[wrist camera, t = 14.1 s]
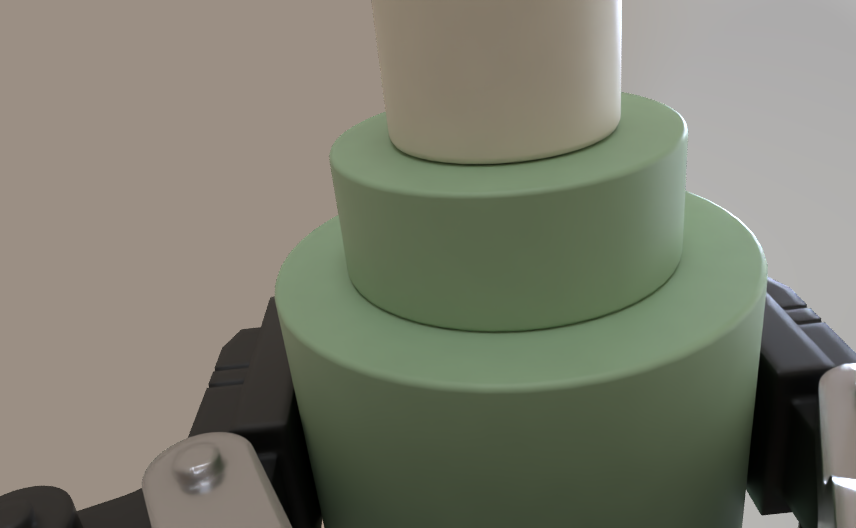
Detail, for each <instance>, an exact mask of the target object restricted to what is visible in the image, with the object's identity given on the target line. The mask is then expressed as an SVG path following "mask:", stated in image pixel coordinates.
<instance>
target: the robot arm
mask: <svg viewBox="0 0 856 528" xmlns="http://www.w3.org/2000/svg"><path fill="white" fill-rule="evenodd" d="M746 490H747V492H748V493H749V495H750V497H751V499H752V500H753V502H754V504H755V505H756V507H757V509H758V510H759V512H760V514H761V515H770V514H779V513H788V512H793V513H794V515H795V517H796V518H797V520H798V521H799V524H798V528H856V353H855V352H854V351H853V350H852V349H851V348H850V347H849V346H848V345H847V344H846V343H845V342H844V341H843V340H842V339H841V338H840V337H839V336H838V335H837V334H836V333H835V332H834V331H833V330H832V329H831V328H830V327H829V326H828V325H827V324H826V323H825V322H824V323H822V322H821V318H820V317H819V316H818V315H817V314H816V313H815V312H814V311H813V310H812V309H811V308H807V304H806V303H805V302H804V301H803V300H802V299H801V298H800V297H799V296H798V295H797V294H796V293H795V292H794V291H793V290H792V289H791V288H790V287H788V286H786V285H784V284H782V283H780V282H778V281H776V280H774V279H771V278H769V277H767V290H766V300H765V309H764V319H763V328H762V338H761V348H760V357H759V367H758V377H757V386H756V396H755V406H754V415H753V425H752V434H751V444H750V454H749V463H748V473H747V483H746ZM321 525H322V514H321V509H320V505H319V500H318V496H317V491H316V486H315V482H314V477H313V473H312V468H311V463H310V459H309V454H308V450H307V445H306V440H305V436H304V431H303V427H302V422H301V418H300V413H299V408H298V404H297V399H296V395H295V390H294V385H293V381H292V376H291V372H290V367H289V362H288V358H287V353H286V349H285V344H284V340H283V335H282V330H281V326H280V321H279V317H278V312H277V307H276V303H275V296H274V297H271V298H270V300H269V303H268V306H267V310H266V313H265V316H264V319H263V322H262V326H261V327H260V328H250V329H242V330H240V332H238V333H237V334H236V335H235V336H234V337H233V338H232V339H231V340H230V341H229V342H228V343H227V344H226V345H225V346H224V347H223V348H222V350H221V353H220V355H219V358H218V361H217V363H216V366H215V371H214V372H213V374H212V376H211V379H210V382H209V388H207V390H206V392H205V395H204V397H203V400H202V402H201V405H200V407H199V410H198V413H197V415H196V418H195V421H194V423H193V426H192V428H191V431H190V434H189V436H188V438H187V439H184V440H182V441H180V442H178V443H176V444H174V445H172V446H170V447H169V448H167V449H166V450H164V451H163V452H162V453H161V454H160V455H158V456H157V457H156V458H155V459H154V460H153V461H152V462H151V464H150V465H149V466H148V468H147V469H146V471H145V474H144V476H143V479H142V488H141V489H139V490H137V491H135V492H133V493H130V494H127V495H125V496H122V497H119V498H116V499H113V500H110V501H107V502H104V503H101V504H98V505H95V506H92V507H89V508H86V509H83V510H79V511H76V508H75V506H74V503H73V501H72V499H71V497H70V495H68V493H67V492H66V491H64V490H62V489H60V488H56V487H53V486H34V487H28V488H23V489H19V490H16V491H13V492H10V493H7V494H4V495H2V496H0V528H321Z"/></svg>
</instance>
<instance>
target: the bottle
mask: <svg viewBox="0 0 856 528" xmlns="http://www.w3.org/2000/svg"><path fill="white" fill-rule="evenodd" d="M371 2H372V9H373V17H374V25H375V32H376V40H377V48H378V56H379V63H380V71H381V79H382V87H383V94H384V102H385V109H386V112H384V113H381V114H378V115H376V116H374V117H371V118H369V119H367V120H365V121H363V122H361V123H359V124H357V125H355V126H353V127H352V128H350V129H349V130H347V131H346V132H344V133H343V134H342V135H341V136H340V137H339V138H338V139H337V140H336V141H335V143H334V144H333V145H332V148H331V151H330V155H329V157H330V166H331V172H332V177H333V184H334V190H335V196H336V202H337V208H338V214H339V215H338V216H336V217H334V218H332V219H330V220H329V221H327V222H326V223H324V224H323V225H321V226H319V227H318V228H316V229H315V230H314V231H312V232H311V233H310V234H309V235H308V236H307V237H305V238H304V239H303V240H302V241H301V242H300V243H299V244H298V245H297V246H296V247H295V248H294V249H293V250H292V251H291V252H290V254H289V255H288V257H287V258H286V260H285V261H284V263H283V265H282V266H281V269H280V272H279V274H278V278H277V280H276V285H275V303H276V307H277V312H278V317H279V321H280V326H281V330H282V335H283V340H284V344H285V349H286V353H287V358H288V362H289V367H290V372H291V376H292V381H293V385H294V390H295V395H296V399H297V404H298V408H299V413H300V418H301V422H302V427H303V431H304V436H305V440H306V445H307V450H308V454H309V459H310V463H311V468H312V473H313V477H314V482H315V486H316V491H317V496H318V500H319V505H320V509H321V514H322V519H323V523H324V528H742V521H743V511H744V502H745V492H746V483H747V473H748V463H749V454H750V444H751V434H752V425H753V415H754V406H755V396H756V386H757V377H758V367H759V357H760V348H761V338H762V328H763V319H764V309H765V300H766V290H767V267H768V265H767V262H766V258H765V256H764V252H763V249H762V247H761V245H760V244H759V242H758V240H757V239H756V237H755V235H754V234H753V232H752V231H751V230H750V229H749V228H748V227H747V226H746V225H745V224H743V222H742V221H740V220H739V219H738V218H736V217H735V216H734V215H732V214H731V213H730V212H728V211H727V210H725V209H723V208H722V207H720V206H718V205H716V204H714V203H712V202H711V201H709V200H707V199H704V198H702V197H699V196H697V195H695V194H692V193H690V192H687V191H685V187H686V167H687V165H686V164H687V145H688V130H687V125H686V122H685V121H684V119H683V118H682V116H681V115H680V114H679V113H678V112H676V111H675V110H674V109H672V108H670V107H668V106H667V105H665V104H662V103H660V102H657V101H655V100H652V99H648V98H645V97H641V96H638V95H634V94H629V93H624V92H621V12H622V10H621V9H622V0H371Z"/></svg>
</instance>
